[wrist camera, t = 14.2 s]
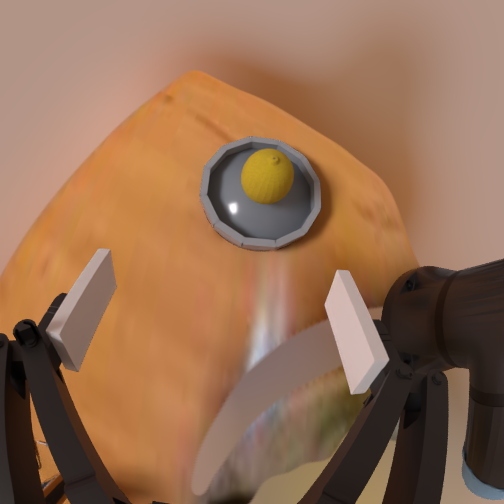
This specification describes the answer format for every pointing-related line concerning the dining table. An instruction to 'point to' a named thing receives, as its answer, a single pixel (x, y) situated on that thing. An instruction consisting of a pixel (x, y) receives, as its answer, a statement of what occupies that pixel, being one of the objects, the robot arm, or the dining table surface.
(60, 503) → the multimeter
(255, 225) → the grey round plate
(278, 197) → the lemon
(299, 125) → the dining table surface
